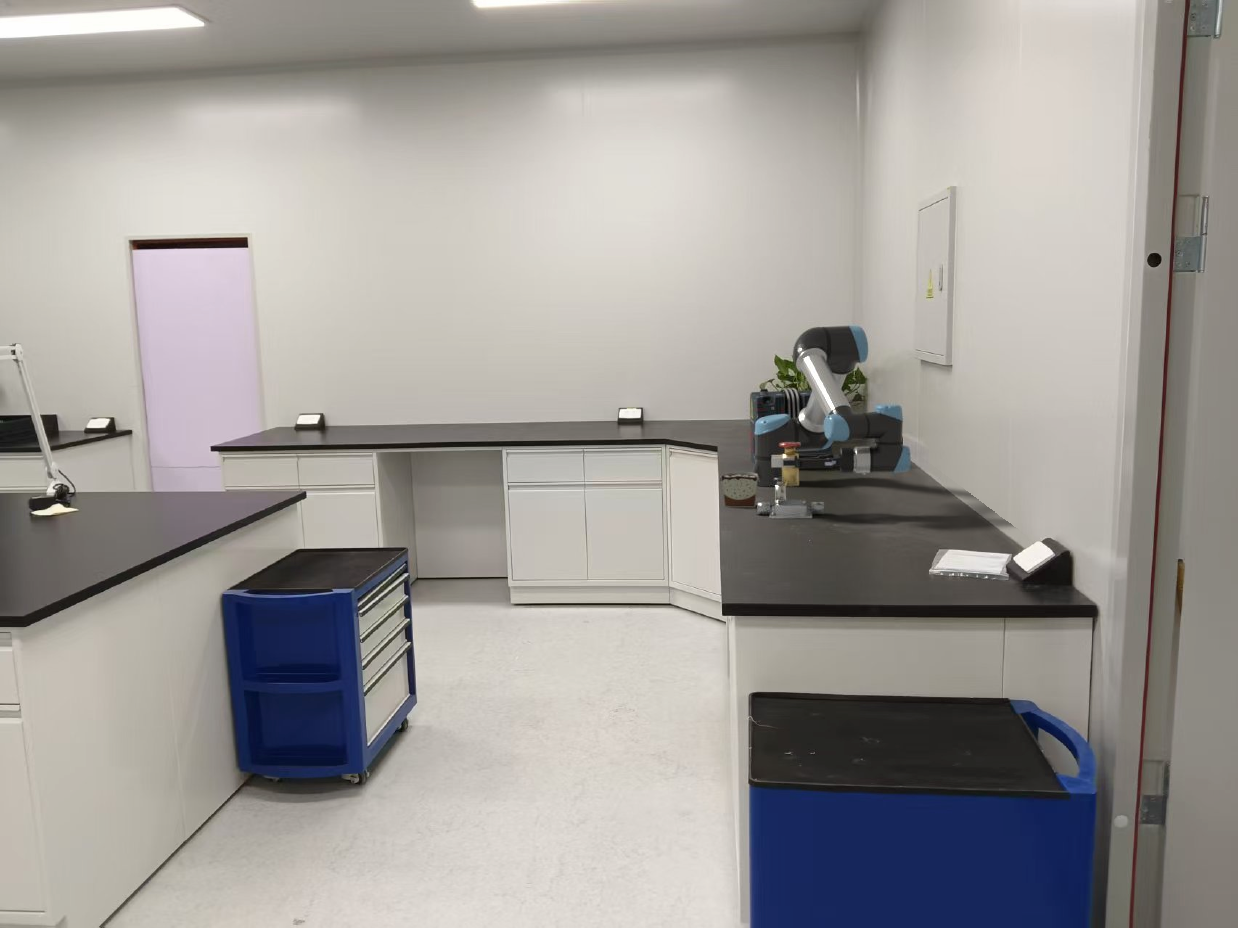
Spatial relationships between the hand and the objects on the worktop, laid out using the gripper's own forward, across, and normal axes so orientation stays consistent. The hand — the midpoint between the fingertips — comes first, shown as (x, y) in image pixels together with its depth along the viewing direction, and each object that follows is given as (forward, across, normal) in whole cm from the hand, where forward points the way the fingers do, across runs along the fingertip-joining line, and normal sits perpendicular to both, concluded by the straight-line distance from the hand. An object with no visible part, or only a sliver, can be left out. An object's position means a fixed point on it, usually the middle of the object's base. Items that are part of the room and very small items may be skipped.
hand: (771, 461), depth 283 cm
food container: (+10, +14, -16) cm, 23 cm away
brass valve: (-5, 0, -7) cm, 9 cm away
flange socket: (-5, 0, -16) cm, 17 cm away
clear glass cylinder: (-2, +13, -16) cm, 21 cm away
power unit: (-5, +96, -16) cm, 97 cm away
